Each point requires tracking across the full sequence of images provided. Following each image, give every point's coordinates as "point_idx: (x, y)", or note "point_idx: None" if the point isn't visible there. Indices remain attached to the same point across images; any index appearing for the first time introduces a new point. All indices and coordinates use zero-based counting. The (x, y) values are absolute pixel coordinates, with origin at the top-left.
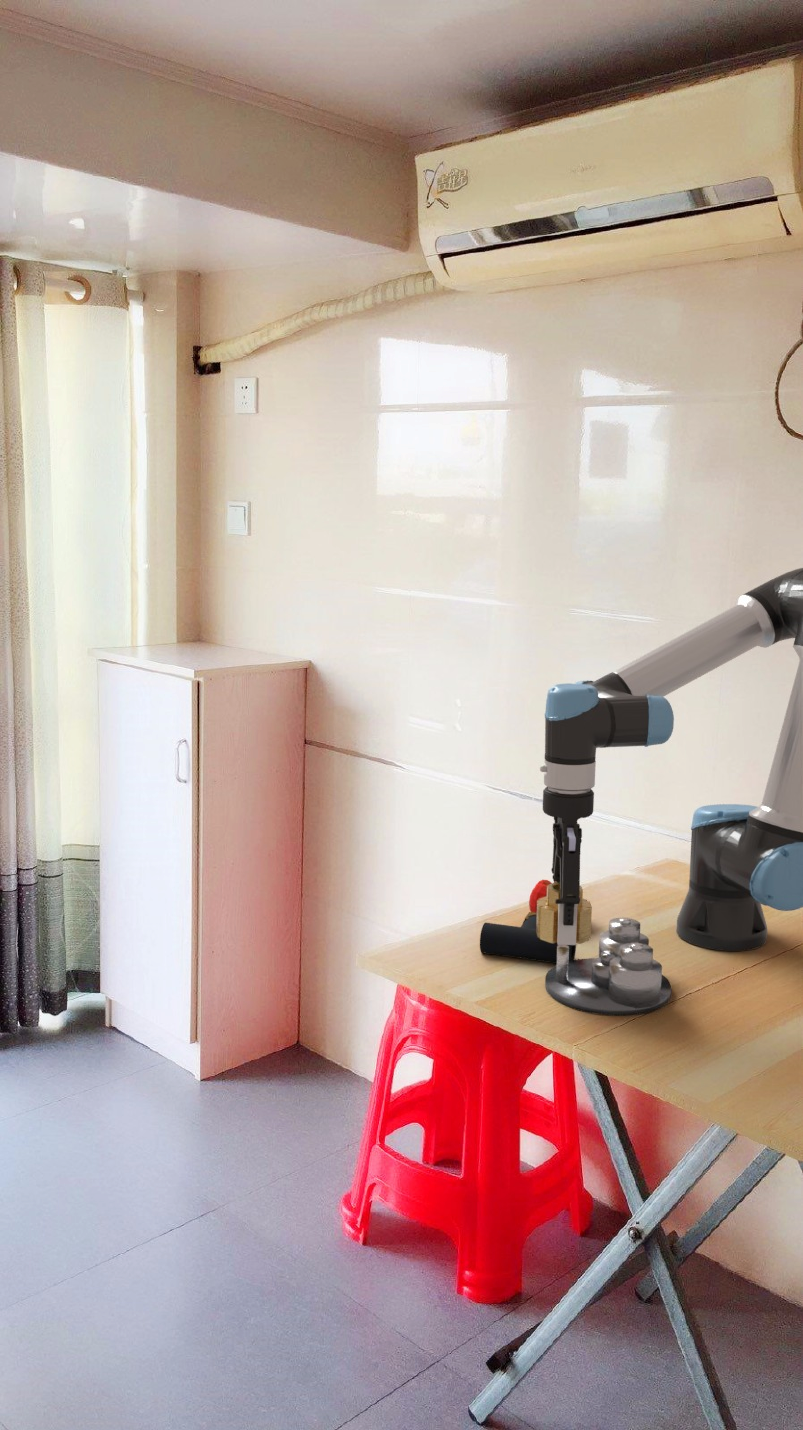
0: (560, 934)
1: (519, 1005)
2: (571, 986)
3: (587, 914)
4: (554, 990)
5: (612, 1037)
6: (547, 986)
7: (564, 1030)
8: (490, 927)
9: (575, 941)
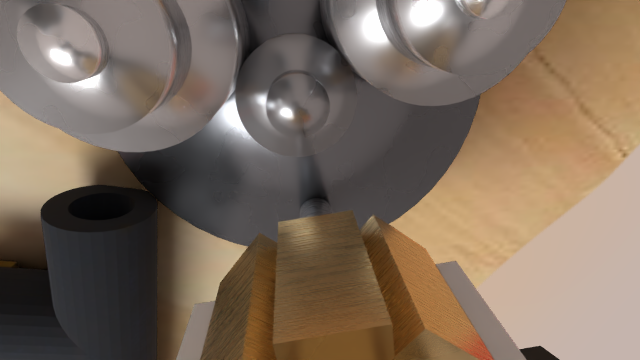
0: None
1: None
2: (350, 187)
3: (432, 314)
4: None
5: (598, 68)
6: None
7: (549, 180)
8: None
9: (463, 273)
